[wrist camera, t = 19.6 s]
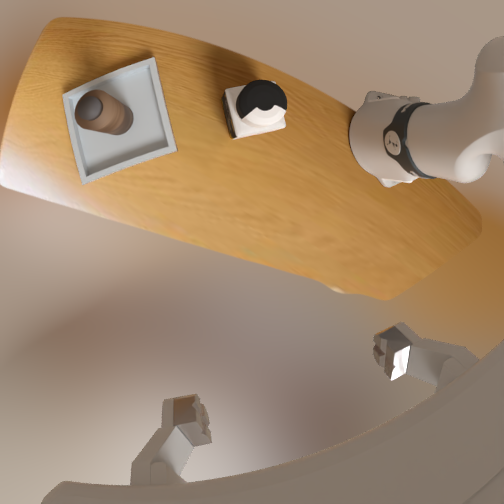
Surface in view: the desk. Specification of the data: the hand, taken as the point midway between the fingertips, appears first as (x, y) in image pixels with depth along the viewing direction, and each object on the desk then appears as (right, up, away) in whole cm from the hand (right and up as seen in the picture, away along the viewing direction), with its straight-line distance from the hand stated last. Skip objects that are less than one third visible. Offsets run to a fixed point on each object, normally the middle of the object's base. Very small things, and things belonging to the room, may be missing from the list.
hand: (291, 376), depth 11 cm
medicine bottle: (-2, +27, +30) cm, 41 cm away
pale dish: (-23, +26, +26) cm, 43 cm away
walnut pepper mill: (-22, +26, +26) cm, 43 cm away
